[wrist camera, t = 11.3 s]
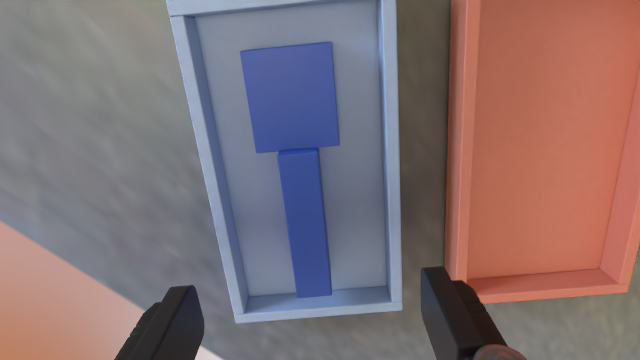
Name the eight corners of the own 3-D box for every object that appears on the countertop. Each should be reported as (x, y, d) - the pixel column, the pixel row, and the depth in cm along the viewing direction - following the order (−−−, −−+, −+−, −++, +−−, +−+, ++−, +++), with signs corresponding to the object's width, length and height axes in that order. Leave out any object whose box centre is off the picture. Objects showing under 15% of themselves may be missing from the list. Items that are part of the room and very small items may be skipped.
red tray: (451, -24, 17) (468, -32, 15) (665, -46, 16) (710, -58, 14) (443, 284, 22) (455, 306, 20) (601, 271, 22) (628, 293, 20)
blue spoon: (348, 267, 21) (352, 294, 19) (281, 272, 21) (277, 300, 19) (330, 41, 17) (332, 41, 15) (247, 49, 17) (236, 51, 15)
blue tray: (182, 4, 17) (165, 0, 15) (387, -17, 17) (396, -24, 15) (242, 300, 23) (235, 324, 21) (395, 288, 22) (402, 310, 20)
